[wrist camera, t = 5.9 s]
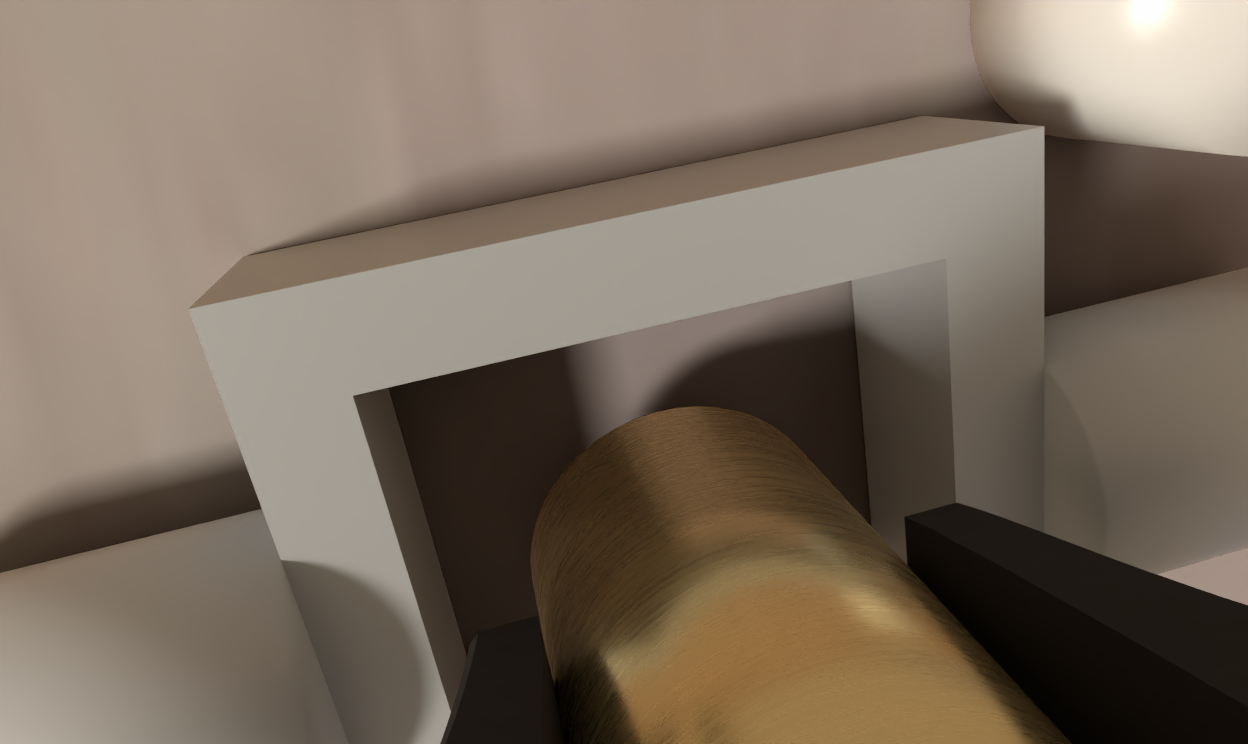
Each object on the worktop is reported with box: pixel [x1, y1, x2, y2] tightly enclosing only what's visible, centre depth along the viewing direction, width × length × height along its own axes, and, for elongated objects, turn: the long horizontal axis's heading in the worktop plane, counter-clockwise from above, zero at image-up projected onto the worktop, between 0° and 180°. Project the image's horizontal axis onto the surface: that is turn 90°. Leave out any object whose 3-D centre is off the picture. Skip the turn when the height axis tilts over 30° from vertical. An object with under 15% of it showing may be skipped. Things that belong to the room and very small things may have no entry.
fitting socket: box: [0, 116, 1248, 744], centre depth 11 cm, size 19×9×4 cm, turn 100°
